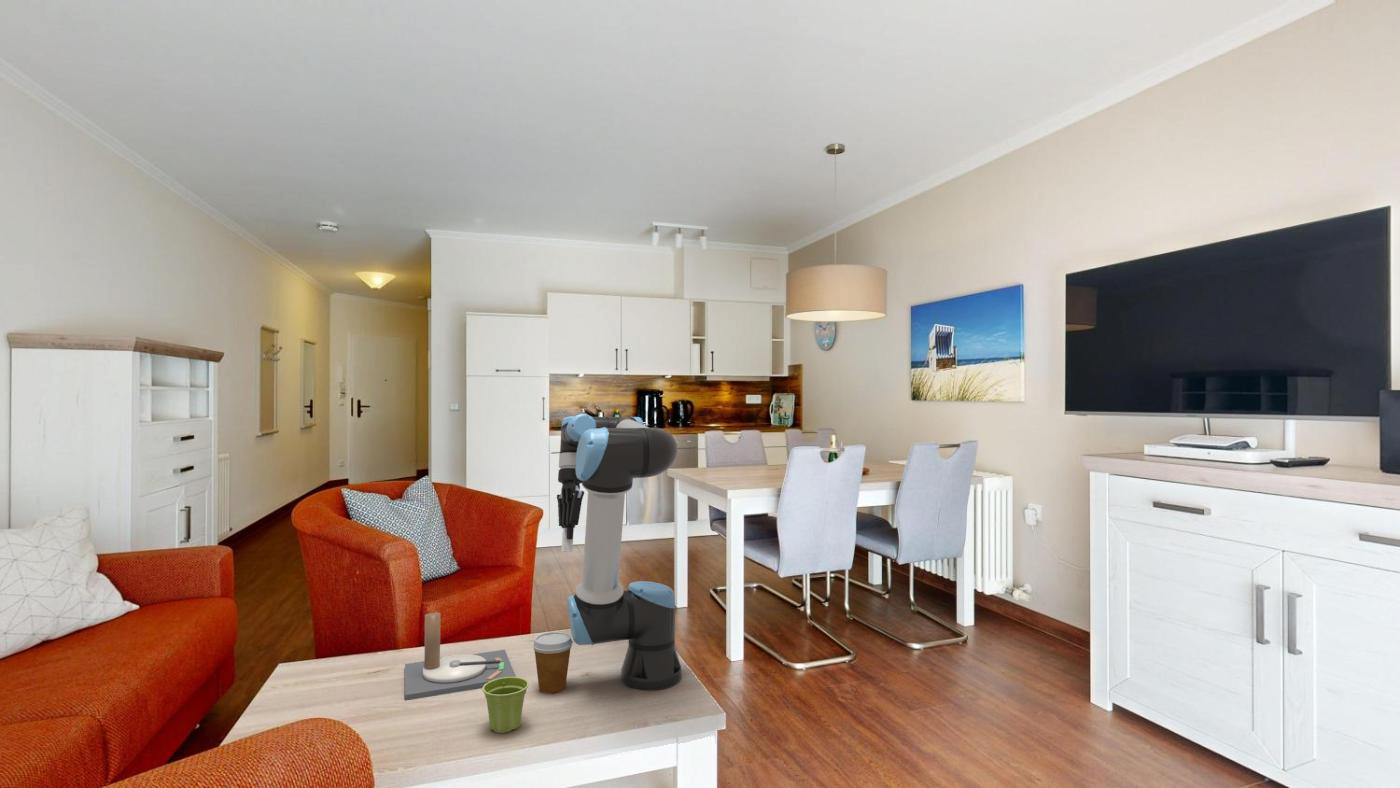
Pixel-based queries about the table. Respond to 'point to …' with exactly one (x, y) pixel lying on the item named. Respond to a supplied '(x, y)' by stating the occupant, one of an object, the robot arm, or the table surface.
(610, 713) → the table surface
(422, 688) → the dial plate
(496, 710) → the plant pot
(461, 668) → the post on round base
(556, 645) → the disposable coffee cup
